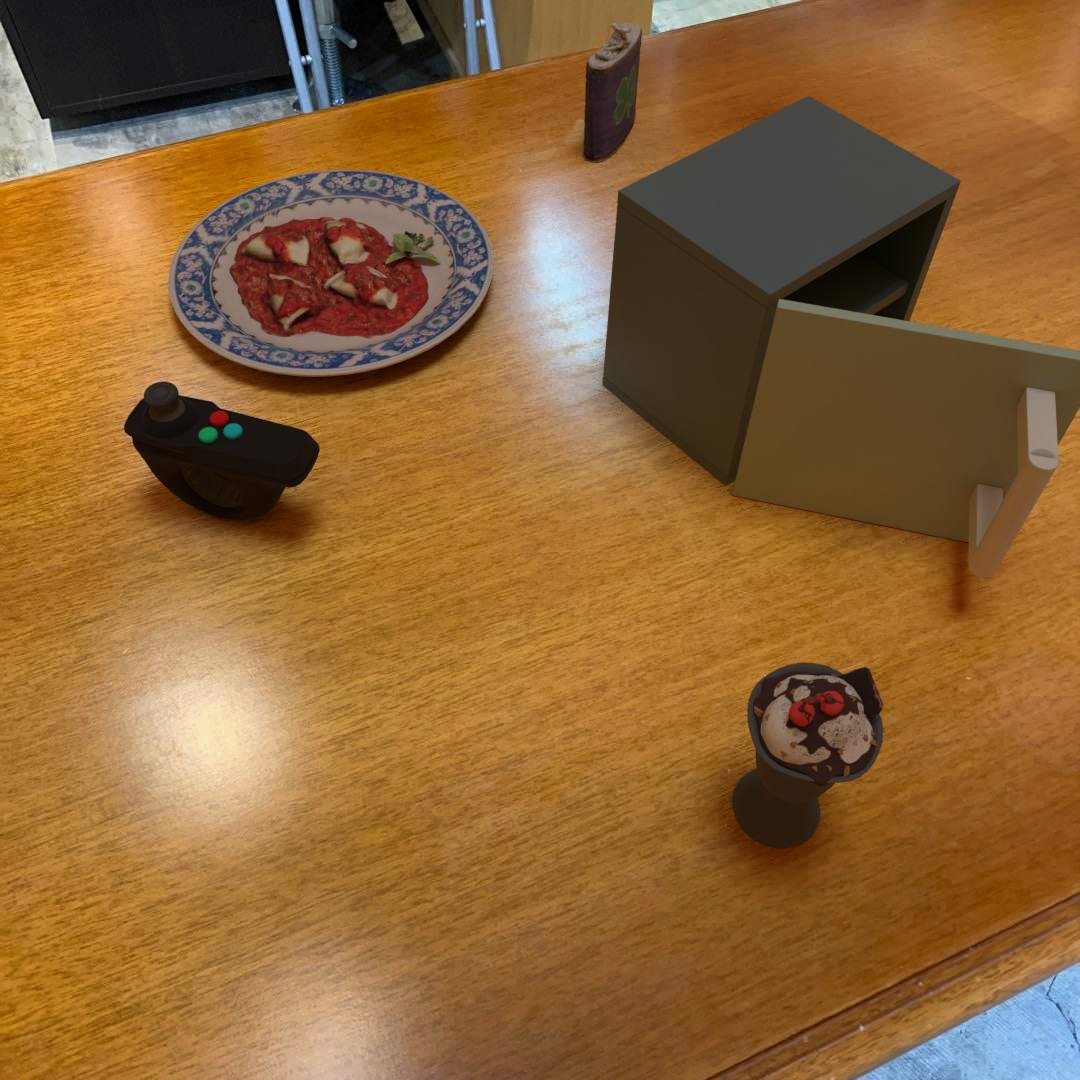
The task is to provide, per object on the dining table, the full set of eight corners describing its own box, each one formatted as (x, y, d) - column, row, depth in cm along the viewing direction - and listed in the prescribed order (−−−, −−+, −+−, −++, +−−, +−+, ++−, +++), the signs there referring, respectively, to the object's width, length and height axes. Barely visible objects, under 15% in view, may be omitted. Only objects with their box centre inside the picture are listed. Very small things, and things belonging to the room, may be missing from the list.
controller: (176, 465, 76) (137, 359, 68) (339, 505, 74) (318, 401, 66) (146, 510, 74) (101, 406, 66) (314, 553, 72) (288, 450, 64)
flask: (615, 109, 105) (624, -2, 97) (643, 117, 105) (654, 6, 96) (576, 158, 100) (582, 45, 92) (605, 166, 99) (614, 54, 91)
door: (999, 625, 69) (1113, 445, 56) (718, 566, 71) (763, 381, 58) (999, 540, 73) (1104, 354, 60) (733, 487, 76) (778, 298, 62)
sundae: (713, 855, 59) (762, 724, 47) (720, 746, 63) (767, 599, 52) (835, 874, 59) (915, 746, 47) (834, 763, 63) (908, 619, 51)
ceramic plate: (173, 416, 79) (163, 386, 77) (175, 207, 95) (167, 177, 92) (520, 372, 83) (520, 342, 80) (467, 177, 98) (466, 147, 96)
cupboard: (889, 374, 83) (961, 180, 70) (725, 487, 76) (770, 294, 62) (765, 289, 89) (808, 95, 76) (601, 385, 82) (617, 190, 68)
